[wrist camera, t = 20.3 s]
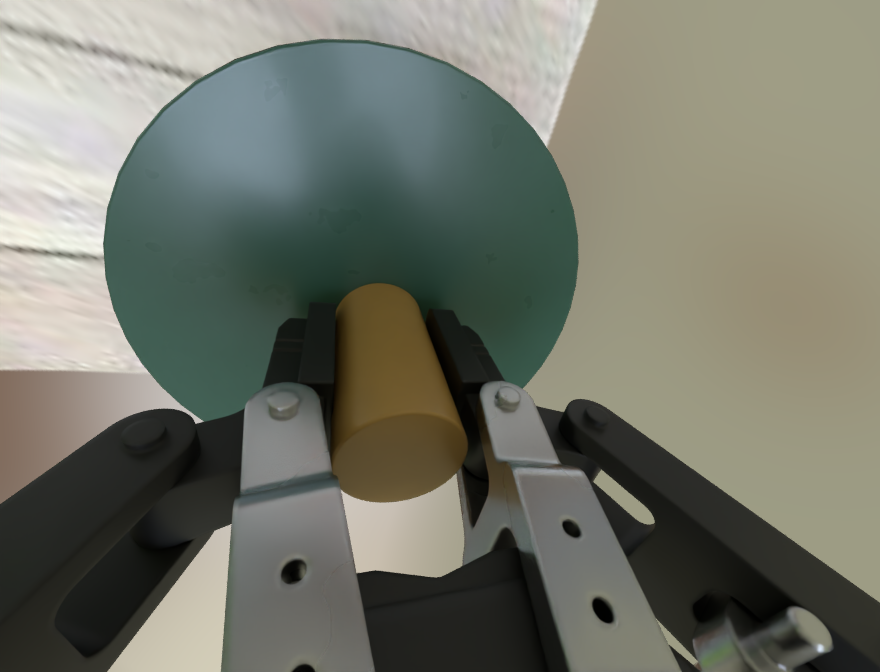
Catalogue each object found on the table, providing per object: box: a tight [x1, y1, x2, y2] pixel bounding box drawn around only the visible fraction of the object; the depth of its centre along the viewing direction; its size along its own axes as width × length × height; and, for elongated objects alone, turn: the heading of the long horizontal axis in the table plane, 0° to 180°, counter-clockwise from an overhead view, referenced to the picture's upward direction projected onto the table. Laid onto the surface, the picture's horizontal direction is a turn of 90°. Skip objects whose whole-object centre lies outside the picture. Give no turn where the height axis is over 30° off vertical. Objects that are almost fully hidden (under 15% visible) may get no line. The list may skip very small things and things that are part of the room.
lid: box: [103, 39, 578, 502], centre depth 10 cm, size 14×14×7 cm
